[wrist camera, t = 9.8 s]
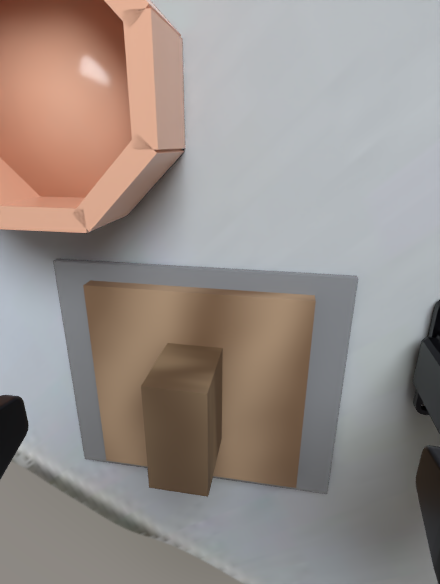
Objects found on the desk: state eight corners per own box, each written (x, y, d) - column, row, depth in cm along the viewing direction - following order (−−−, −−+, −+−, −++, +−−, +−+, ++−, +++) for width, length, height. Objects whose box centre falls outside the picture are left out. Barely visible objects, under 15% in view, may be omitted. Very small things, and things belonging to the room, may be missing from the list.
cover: (314, 295, 19) (322, 340, 15) (296, 477, 23) (297, 554, 19) (90, 280, 21) (36, 316, 16) (111, 451, 25) (73, 516, 21)
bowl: (179, -59, 15) (143, -124, 11) (187, 218, 19) (162, 236, 15) (-62, -39, 17) (-160, -91, 13) (-9, 211, 21) (-73, 225, 17)
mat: (356, 275, 19) (358, 278, 18) (326, 488, 24) (326, 494, 23) (57, 258, 21) (53, 261, 21) (87, 454, 26) (84, 458, 26)
